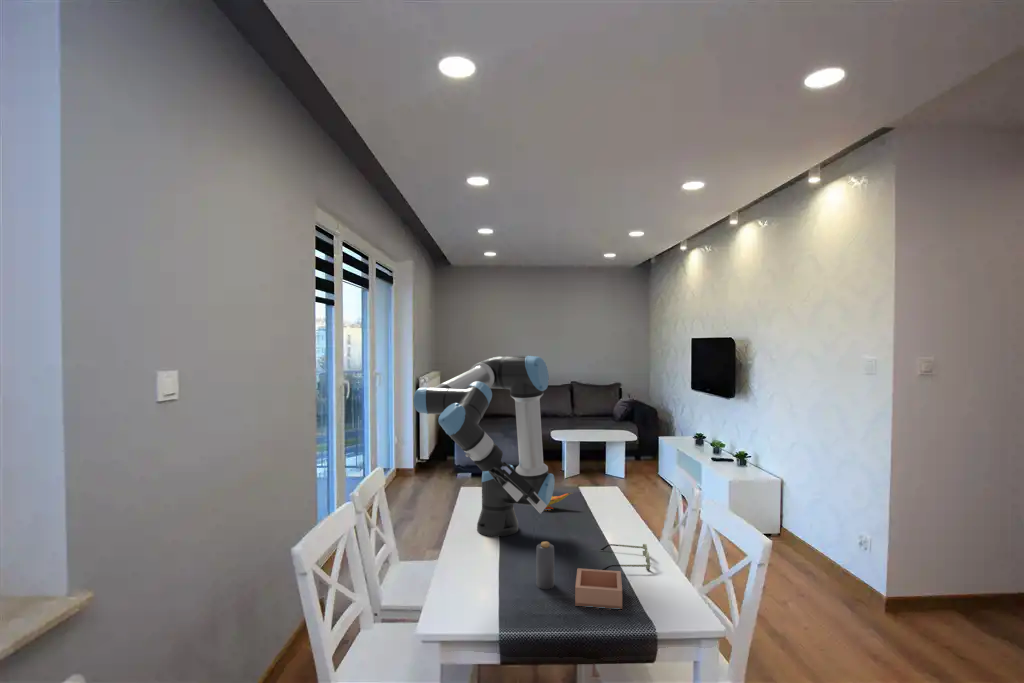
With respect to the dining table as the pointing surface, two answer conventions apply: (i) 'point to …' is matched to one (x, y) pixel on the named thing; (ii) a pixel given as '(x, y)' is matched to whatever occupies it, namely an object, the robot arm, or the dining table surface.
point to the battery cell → (545, 565)
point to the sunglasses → (645, 553)
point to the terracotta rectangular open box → (598, 588)
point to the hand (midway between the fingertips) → (531, 503)
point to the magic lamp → (556, 500)
